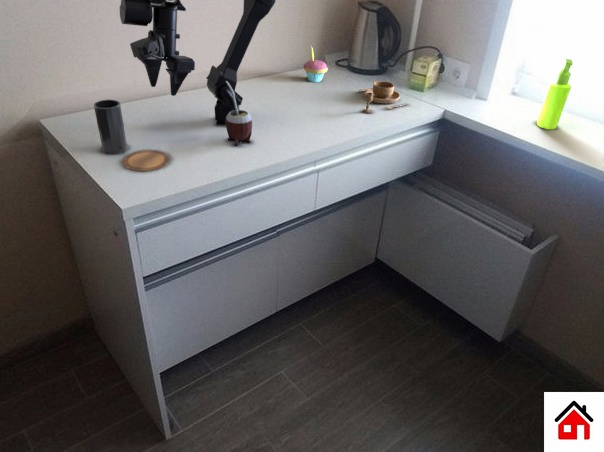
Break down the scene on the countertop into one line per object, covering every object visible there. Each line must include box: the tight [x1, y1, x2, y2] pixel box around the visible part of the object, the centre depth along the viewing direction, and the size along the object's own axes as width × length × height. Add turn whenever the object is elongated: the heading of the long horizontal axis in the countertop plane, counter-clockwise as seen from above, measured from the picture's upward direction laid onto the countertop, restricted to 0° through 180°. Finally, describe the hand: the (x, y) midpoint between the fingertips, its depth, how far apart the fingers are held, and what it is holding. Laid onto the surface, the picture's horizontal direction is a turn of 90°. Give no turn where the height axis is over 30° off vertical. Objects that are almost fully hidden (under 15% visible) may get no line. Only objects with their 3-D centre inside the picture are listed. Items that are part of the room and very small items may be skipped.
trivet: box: [122, 149, 170, 172], centre depth 122 cm, size 11×11×1 cm
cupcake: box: [303, 45, 328, 83], centre depth 178 cm, size 9×8×12 cm
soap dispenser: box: [536, 58, 574, 130], centre depth 150 cm, size 6×7×20 cm
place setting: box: [358, 80, 408, 114], centre depth 164 cm, size 18×20×6 cm
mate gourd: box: [225, 81, 253, 147], centre depth 131 cm, size 8×8×15 cm
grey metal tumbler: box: [93, 99, 128, 155], centre depth 124 cm, size 6×6×12 cm
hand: (163, 91), depth 130 cm, fingers open, 9 cm apart
